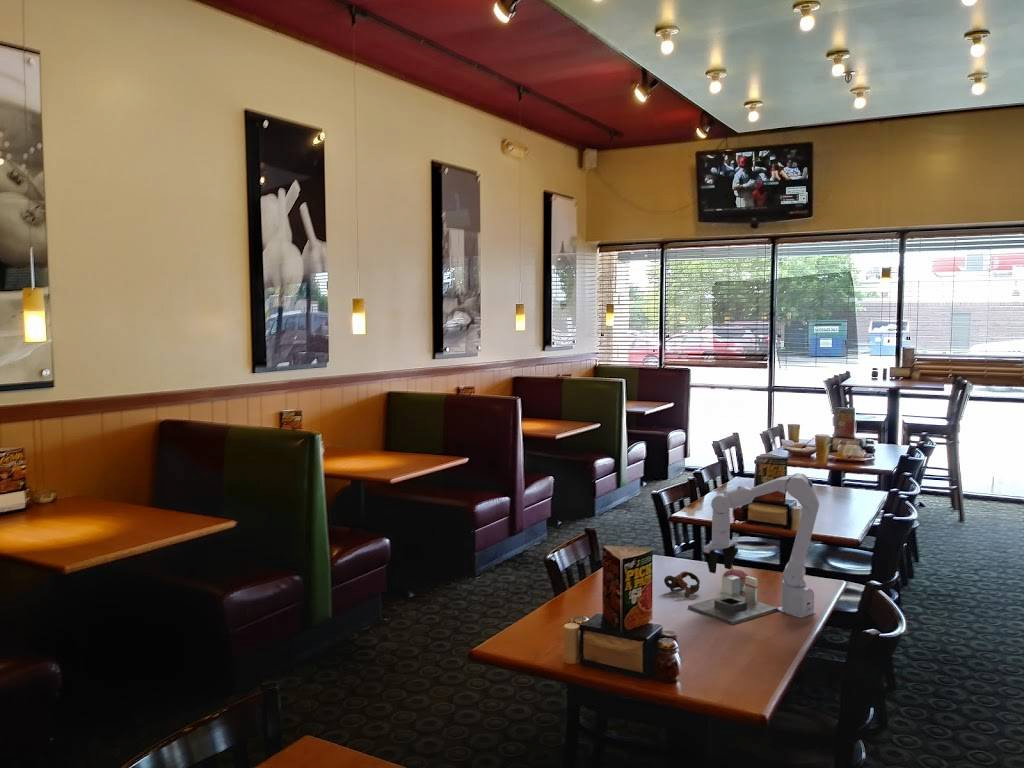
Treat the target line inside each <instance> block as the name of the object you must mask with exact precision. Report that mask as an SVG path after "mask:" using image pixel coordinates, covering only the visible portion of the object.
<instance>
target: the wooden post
mask: <svg viewBox="0 0 1024 768" xmlns="http://www.w3.org/2000/svg"><path fill="white" fill-rule="evenodd" d="M722 596H725V597H728V598H731V599H733V598H736V597H740V596H741V592H740V577H737V576H734V575H727V576H723V575H722V577H721V597H722Z"/></svg>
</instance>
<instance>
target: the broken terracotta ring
mask: <svg viewBox="0 0 1024 768" xmlns="http://www.w3.org/2000/svg"><path fill="white" fill-rule="evenodd" d="M687 577H690V579H691V580H694V581H695V582H696V584H691V585H690V586H689V587H688V585H689V584H688V583H687V582H686V581H685V580H684V579H685V578H687ZM700 581H701V580H700V579H699V578H698V576H697V575H696V574H694V573H693V572H691V571H690V572H689V571H682V572H680V573H679V574H677V575H675V576H673V575H667V576H665V577H664V578H663V583H664V585H665V586H666V587H667V588H669V589H670V591H671V592H674V589H676V588H679V589H682V588H683V590H685V592H684V593H683V596H684V597H686V598H689V597H690V595H693V594H695V593H698V592H699V591H700V590H699V589H700V585H701V584H700V583H701V582H700Z"/></svg>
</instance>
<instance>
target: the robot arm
mask: <svg viewBox="0 0 1024 768" xmlns="http://www.w3.org/2000/svg"><path fill="white" fill-rule="evenodd" d="M814 487H815V486H814V484H813V482H812V481H811V480H810V478H809V477H808V476H807V475H806V474H804V473H800V472H799V473H798V472H797V473H793V474H792V475H791V474H790V475H789V474H788V475H784V476H781V477H778V478H776V479H772V480H769V481H766V482H764V483H762V484H758V485H755V486H753V487H749V486H747V485H743V486H742V485H738V486H737V487H736V488H735V489H732V490H728V491H727V490H725V491H723V493H717V494H716V495H715V497H713V499H712V500H711V503H710V505H711V509H712V517H711V524H712V525H711V540H710V541H709V543H707V544H706V545H703V546H702V547H703V550H702V554H703V556H704V558H705V561H706V563H707V566H708V571H709V573H710V574H716V572H717V564H718V559H719V557H720V553H717V552H716V551H719V550H720V551H722V553H723V554H722V555H723V564H724V569H726V570H731V567H732V564H733V562H734V559H735V558H736V555H737V554H738V552H739V548H738V540H735V539H731V538H730V537H731V532H730V530H731V516H730V514H731V513H730V512H731V511H730V509H736V508H740V507H743V506H745V505H749V504H751V503H753V501H754V499H755V498H758V497H761V496H764V495H767V494H771V493H775V492H779V493H782V494H787V493H788V494H789V495H790V496H791V497H792V498H794V499H795V500H796V501H797V502H798V503H799V504H800V506H801V507H802V510H801V511H802V512H801V515H800V519H799V523H798V526H797V530H796V534H795V539H794V542H793V546H792V550H791V554H790V557H789V561H788V562H787V563H786V564H785V567H784V570H783V572H782V582H781V606H778V607H777V608H778V610H779V612H781V613H784V612H785V613H784V614H787V615H790V616H794V617H796V618H799V619H801V618H804V617H807V616H811V615H814V614H816V611H815V609H814V608H815V593H814V590H813V589H812V588H809V586H807V582H806V581H805V579H804V577H805V574H806V565H805V563H806V559H807V558H806V557H807V554H808V550H809V547H810V543H811V538H812V535H813V530H814V528H815V527H814V526H815V523H816V520H817V516H818V511H819V508H820V501H819V498H818V496H817V494H816V491H815V488H814Z"/></svg>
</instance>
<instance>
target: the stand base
mask: <svg viewBox="0 0 1024 768" xmlns="http://www.w3.org/2000/svg"><path fill="white" fill-rule="evenodd" d="M744 588H745V589H744V596H743V595H740V597H736V598H733V599H731V598H728V597H725V596H722V595H721V596H718V597H715V598H711V599H707V600H704V601H700V602H696V603H692V604H689V605H688V606H687V609H688V610H690V611H693V612H696V613H698V614H699V613H700V614H702V615H705V616H707V617H709V618H712V619H715V620H718V621H721V622H724V623H726V624H729V625H731V624H733V625H736V624H740V623H743V622H745V620H746V621H749V620H748V619H750V620H752V619H751V618H753V619H756V618H759V617H758V616H760V617H762V616H761V615H763V616H765V615H764V614H766V615H768V614H767V613H769V614H772V613H771V612H773V613H775V612H774V611H776V612H778V611H777V610H778V607H776V606H772V605H770V604H768V603H764V602H762V601H758V578H756V577H753V576H749V575H748V576H745V585H744ZM755 617H756V618H755ZM742 621H743V622H742ZM739 622H740V623H739Z"/></svg>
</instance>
